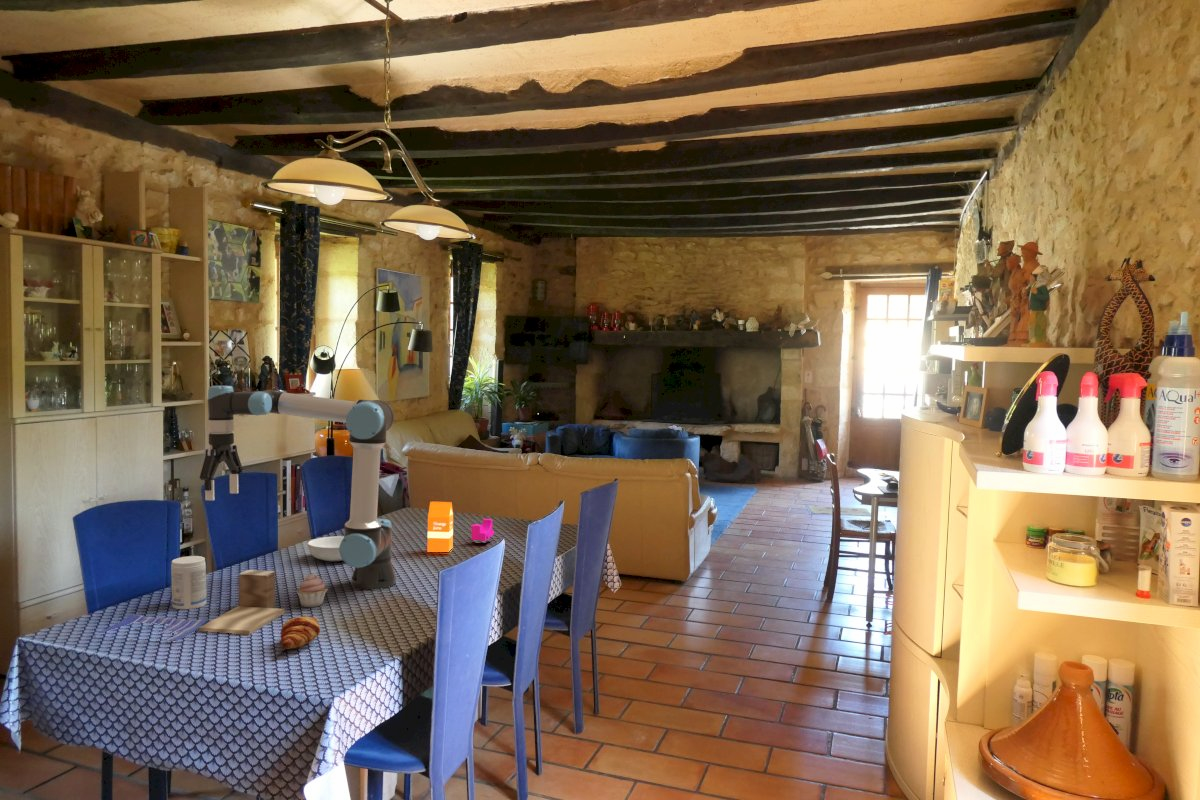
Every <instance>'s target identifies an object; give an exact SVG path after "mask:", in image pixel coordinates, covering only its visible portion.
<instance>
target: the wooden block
mask: <svg viewBox="0 0 1200 800" xmlns="http://www.w3.org/2000/svg"><path fill="white" fill-rule="evenodd" d="M238 606H244V607H261V608H276V571H275V570H261V569H260V570H259V569H246V570H244V571H242V572H240V573H238Z"/></svg>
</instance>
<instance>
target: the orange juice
mask: <svg viewBox="0 0 1200 800" xmlns="http://www.w3.org/2000/svg"><path fill="white" fill-rule="evenodd" d="M453 543H454V511H453V504H452V501H430V502H429V509H428V515H427V550H426V551H427V552H449V551H450V550H451V549H452V548H453V549H454V546H453V545H454V544H453ZM453 549H452V550H453ZM452 550H451V551H452ZM451 551H450V552H451Z"/></svg>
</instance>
